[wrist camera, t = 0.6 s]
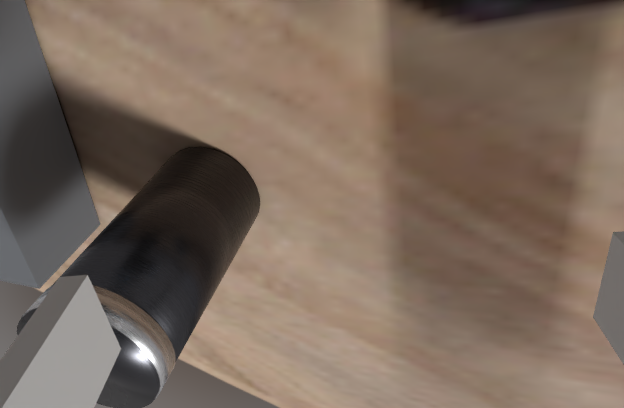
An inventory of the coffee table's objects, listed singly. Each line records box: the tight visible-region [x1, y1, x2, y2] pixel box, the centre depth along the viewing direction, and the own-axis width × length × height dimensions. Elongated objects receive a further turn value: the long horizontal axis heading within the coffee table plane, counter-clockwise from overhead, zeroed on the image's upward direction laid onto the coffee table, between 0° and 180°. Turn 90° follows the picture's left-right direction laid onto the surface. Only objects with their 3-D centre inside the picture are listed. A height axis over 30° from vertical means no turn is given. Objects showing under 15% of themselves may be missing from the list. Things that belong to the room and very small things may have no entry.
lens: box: [17, 147, 260, 408], centre depth 24 cm, size 6×6×12 cm
